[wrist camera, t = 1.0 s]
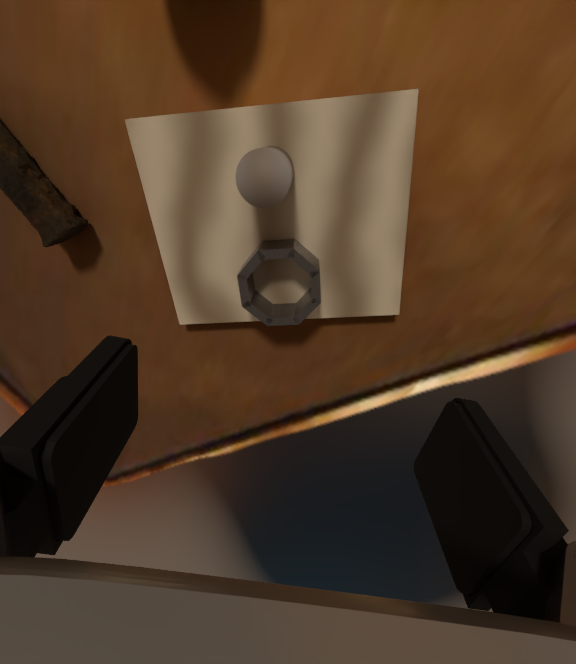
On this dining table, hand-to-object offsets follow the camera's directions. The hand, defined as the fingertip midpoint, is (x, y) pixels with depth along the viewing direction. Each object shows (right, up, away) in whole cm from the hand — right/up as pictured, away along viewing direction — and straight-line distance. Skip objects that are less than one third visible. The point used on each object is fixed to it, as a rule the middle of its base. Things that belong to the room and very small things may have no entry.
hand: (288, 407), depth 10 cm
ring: (-1, +7, +22) cm, 23 cm away
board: (-1, +12, +21) cm, 24 cm away
